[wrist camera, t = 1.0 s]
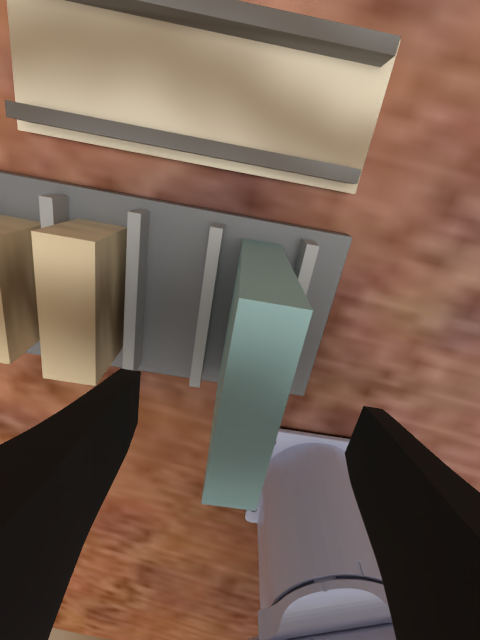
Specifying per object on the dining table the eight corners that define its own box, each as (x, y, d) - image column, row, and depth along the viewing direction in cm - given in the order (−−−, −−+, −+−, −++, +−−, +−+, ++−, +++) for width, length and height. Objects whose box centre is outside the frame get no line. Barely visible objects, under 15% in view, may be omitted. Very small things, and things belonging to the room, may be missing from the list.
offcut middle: (123, 346, 20) (95, 386, 16) (81, 339, 19) (42, 377, 16) (128, 227, 17) (94, 241, 13) (78, 218, 17) (31, 230, 13)
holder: (349, 193, 17) (365, 196, 15) (31, 132, 16) (-5, 125, 14) (390, 48, 14) (417, 25, 12) (18, -32, 14) (-27, -73, 11)
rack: (301, 386, 22) (307, 411, 19) (6, 340, 21) (-24, 360, 18) (346, 234, 18) (361, 243, 15) (-17, 167, 17) (-58, 166, 14)
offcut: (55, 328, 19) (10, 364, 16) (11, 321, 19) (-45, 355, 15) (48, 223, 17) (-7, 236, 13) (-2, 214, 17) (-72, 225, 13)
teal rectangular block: (252, 373, 20) (255, 511, 12) (219, 368, 20) (201, 503, 12) (280, 244, 17) (313, 310, 9) (242, 237, 17) (239, 297, 9)
